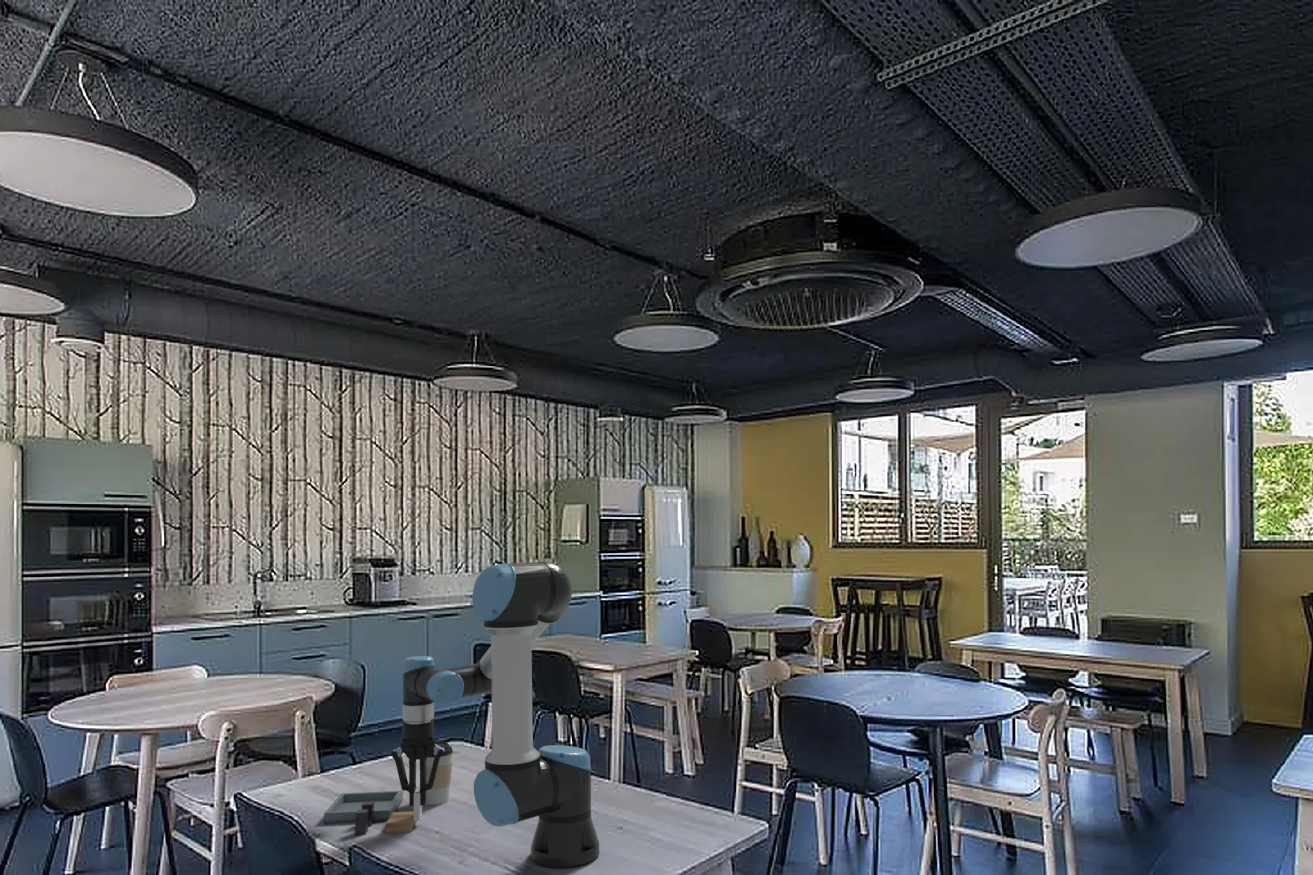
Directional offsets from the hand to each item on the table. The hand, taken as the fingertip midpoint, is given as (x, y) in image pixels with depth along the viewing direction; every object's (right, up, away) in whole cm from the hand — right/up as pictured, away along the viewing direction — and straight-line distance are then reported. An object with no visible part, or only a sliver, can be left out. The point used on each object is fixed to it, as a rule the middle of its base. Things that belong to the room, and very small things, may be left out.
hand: (417, 818), depth 216 cm
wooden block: (-4, -2, -1) cm, 4 cm away
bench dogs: (-12, -2, -2) cm, 13 cm away
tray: (-17, -3, +11) cm, 20 cm away
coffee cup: (0, -4, +19) cm, 19 cm away
